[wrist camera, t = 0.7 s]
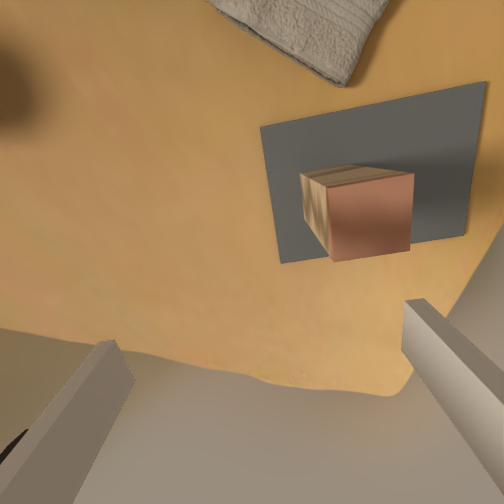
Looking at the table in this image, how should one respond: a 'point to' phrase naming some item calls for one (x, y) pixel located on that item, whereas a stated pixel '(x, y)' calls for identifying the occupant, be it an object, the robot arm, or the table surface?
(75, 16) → the table surface
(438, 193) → the rubber mat
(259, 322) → the table surface
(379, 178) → the maple block
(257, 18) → the washcloth
